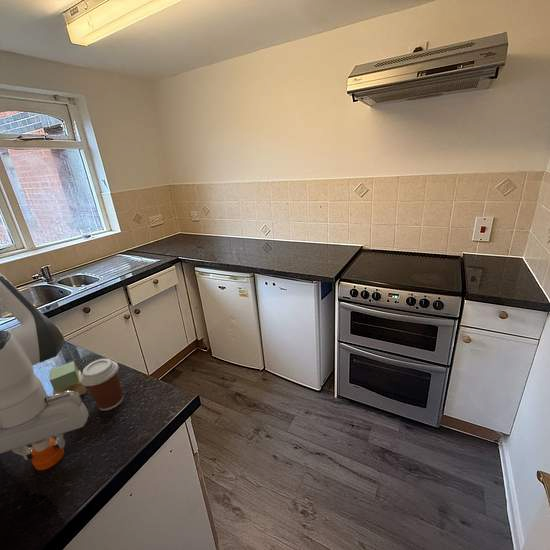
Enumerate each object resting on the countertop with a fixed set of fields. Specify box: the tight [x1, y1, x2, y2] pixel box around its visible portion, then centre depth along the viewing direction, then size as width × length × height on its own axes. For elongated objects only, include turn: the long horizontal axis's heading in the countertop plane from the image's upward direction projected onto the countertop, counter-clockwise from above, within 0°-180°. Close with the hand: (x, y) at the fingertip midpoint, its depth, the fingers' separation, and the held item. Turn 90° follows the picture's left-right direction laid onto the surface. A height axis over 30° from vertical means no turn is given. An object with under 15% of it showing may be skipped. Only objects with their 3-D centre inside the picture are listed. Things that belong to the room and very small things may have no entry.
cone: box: [31, 437, 65, 471], centre depth 67 cm, size 6×6×7 cm
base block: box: [52, 369, 87, 396], centre depth 88 cm, size 7×7×4 cm
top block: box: [49, 360, 79, 392], centre depth 86 cm, size 6×6×4 cm
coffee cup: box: [80, 358, 125, 412], centre depth 81 cm, size 9×9×12 cm
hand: (46, 451), depth 67 cm, fingers closed on cone, 4 cm apart
